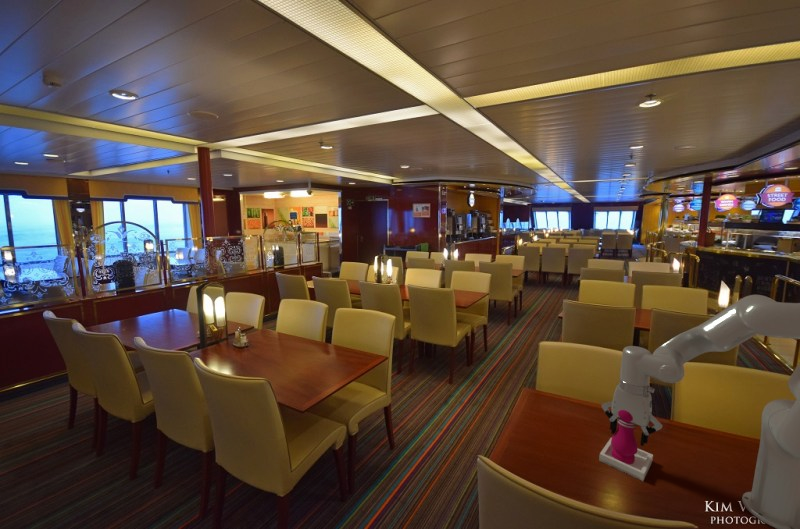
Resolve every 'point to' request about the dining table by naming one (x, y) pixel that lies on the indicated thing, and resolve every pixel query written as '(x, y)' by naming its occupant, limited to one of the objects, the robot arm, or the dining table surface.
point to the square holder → (635, 469)
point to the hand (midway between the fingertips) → (628, 437)
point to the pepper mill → (624, 439)
